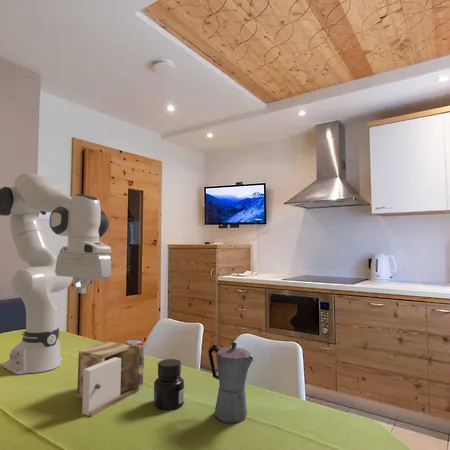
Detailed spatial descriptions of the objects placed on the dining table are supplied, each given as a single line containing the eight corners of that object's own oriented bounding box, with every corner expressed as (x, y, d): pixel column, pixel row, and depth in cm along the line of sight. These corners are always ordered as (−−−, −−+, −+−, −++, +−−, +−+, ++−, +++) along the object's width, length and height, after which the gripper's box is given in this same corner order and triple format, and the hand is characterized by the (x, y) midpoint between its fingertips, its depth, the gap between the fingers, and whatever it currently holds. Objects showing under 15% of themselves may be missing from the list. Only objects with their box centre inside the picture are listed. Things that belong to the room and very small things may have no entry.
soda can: (138, 379, 118) (139, 344, 119) (120, 377, 119) (120, 343, 120) (146, 372, 125) (147, 339, 126) (129, 370, 126) (130, 338, 127)
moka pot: (245, 431, 85) (245, 350, 86) (196, 415, 93) (197, 341, 94) (261, 415, 93) (261, 341, 94) (215, 401, 101) (216, 334, 102)
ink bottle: (188, 407, 97) (189, 365, 98) (158, 414, 93) (159, 370, 94) (177, 394, 106) (178, 356, 107) (150, 400, 102) (151, 359, 103)
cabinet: (56, 406, 97) (58, 357, 98) (110, 381, 116) (112, 340, 117) (95, 418, 91) (96, 365, 92) (145, 389, 109) (146, 346, 110)
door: (82, 413, 93) (83, 369, 94) (114, 396, 104) (115, 357, 104) (90, 416, 91) (92, 371, 92) (122, 399, 102) (123, 358, 103)
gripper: (51, 246, 104) (48, 291, 103) (99, 247, 95) (96, 297, 94) (69, 246, 109) (66, 289, 108) (115, 248, 100) (113, 294, 99)
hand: (80, 292), depth 101 cm, fingers closed
